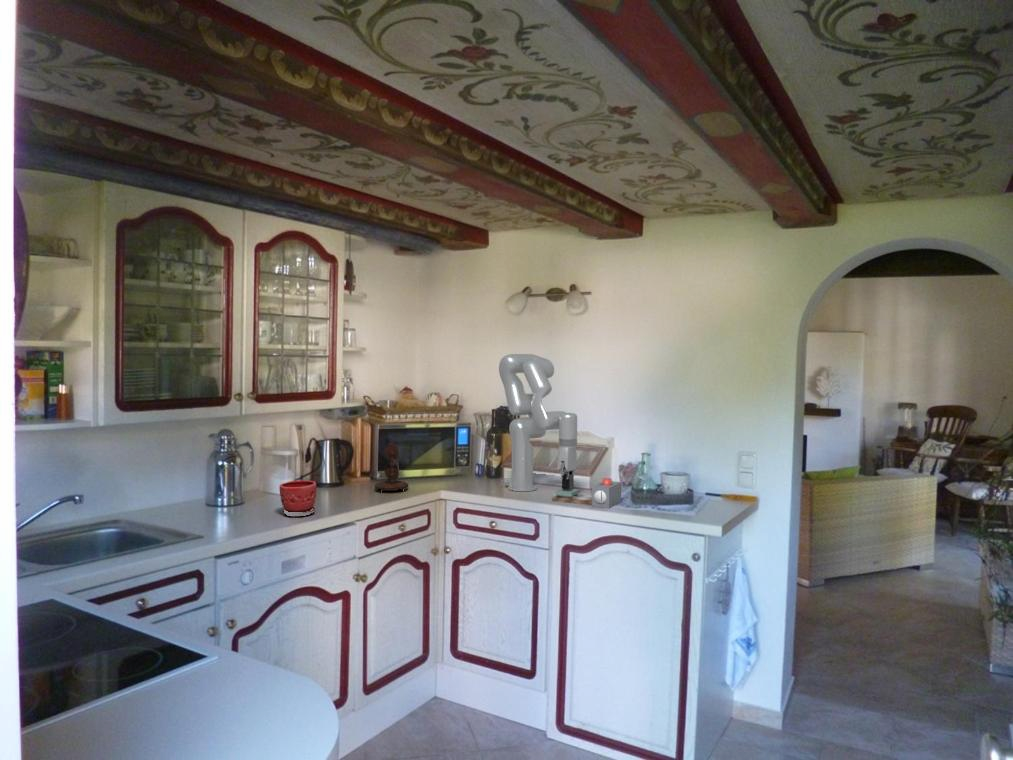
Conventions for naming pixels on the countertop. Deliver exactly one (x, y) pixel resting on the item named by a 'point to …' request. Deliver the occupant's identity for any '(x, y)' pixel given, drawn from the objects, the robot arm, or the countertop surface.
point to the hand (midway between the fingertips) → (567, 487)
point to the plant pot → (298, 495)
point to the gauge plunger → (606, 481)
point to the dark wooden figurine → (391, 471)
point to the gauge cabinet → (606, 495)
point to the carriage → (569, 491)
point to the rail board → (574, 499)
